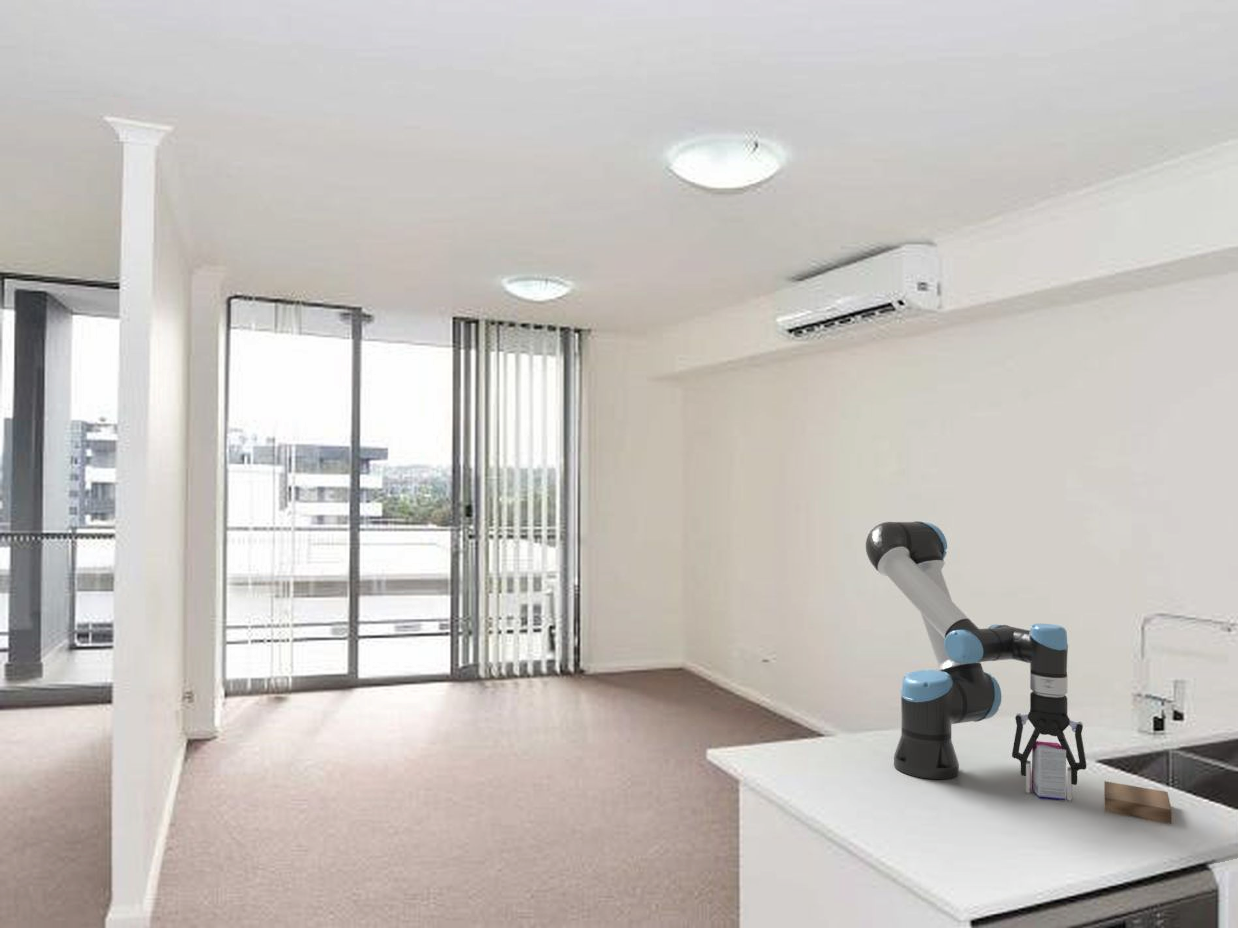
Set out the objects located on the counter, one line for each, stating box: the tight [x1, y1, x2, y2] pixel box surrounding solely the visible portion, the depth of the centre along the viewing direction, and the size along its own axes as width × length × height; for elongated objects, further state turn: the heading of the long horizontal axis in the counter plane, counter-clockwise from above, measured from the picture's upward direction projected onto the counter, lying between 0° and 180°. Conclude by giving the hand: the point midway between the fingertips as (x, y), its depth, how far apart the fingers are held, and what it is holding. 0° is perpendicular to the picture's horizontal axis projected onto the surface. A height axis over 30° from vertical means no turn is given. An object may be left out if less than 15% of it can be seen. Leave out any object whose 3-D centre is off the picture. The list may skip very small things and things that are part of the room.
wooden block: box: [1103, 780, 1173, 825], centre depth 179 cm, size 12×12×3 cm
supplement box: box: [1030, 740, 1067, 802], centre depth 186 cm, size 6×6×12 cm
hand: (1048, 794), depth 185 cm, fingers open, 8 cm apart
